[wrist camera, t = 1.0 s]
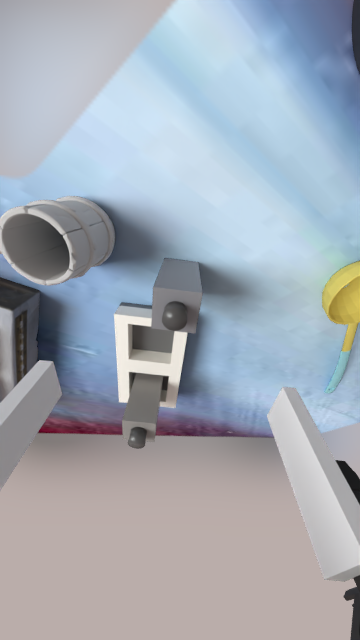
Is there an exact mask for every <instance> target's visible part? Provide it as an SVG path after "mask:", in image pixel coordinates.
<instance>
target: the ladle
mask: <svg viewBox="0 0 360 640" xmlns="http://www.w3.org/2000/svg"><path fill="white" fill-rule="evenodd" d="M348 283H350V284H349V285H348V286H347V287H346V288H343V287H344V286H346V285H347V284H348ZM322 307H323V309H324V311H325V312H326V314H327V316H328V318H329V319H330V320H331V321H333V322H334V323H337V324H344V325H345V324H348V328H347V332H346V336H345V340H344V344H343V348H342V350H341V353H340V357H339V361H338V364H337V367H336V369H335V372H334V374H333V377H332V379H331V381H330V383H329V385H328V386H327V388H326V390H325V391H324V392H325V393H332V392H333V391H334V390H335V388H336V387H337V385H338V383H339V382H340V380H341V378H342V376H343V373H344V371H345V368H346V365H347V362H348V359H349V356H350V352H351V347H352V343H353V340H354V336H355V333H356V329H357V326H358V323H359V322H360V261H358V262H355V263H352V264H350V265H347V266H345V267H344V268H342V269H340V270H339V271H337V272H336V273H335V274H334V275H333V276H332V277H331V278H330V279H329V281H328V282H327V284H326V286H325V288H324V290H323V292H322Z"/></svg>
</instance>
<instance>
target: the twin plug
mask: <svg viewBox="0 0 360 640" xmlns="http://www.w3.org/2000/svg"><path fill="white" fill-rule="evenodd" d="M162 383H163V375H154V374H145V373H136V376H135V379H134V382H133V386H132V389H131V392H130V396H129V399H128V403H127V406H126V409H125V413H124V416H123V419H122V426H123V439H128V445H129V446H131V447H133V448H143V447H144V446H145V441H147V442H154V441H155V434H156V427H157V420H158V413H159V405H160V398H161V391H162Z"/></svg>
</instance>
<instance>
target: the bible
mask: <svg viewBox="0 0 360 640" xmlns="http://www.w3.org/2000/svg"><path fill="white" fill-rule="evenodd" d="M39 299H40V291H39V290H36V289H33V288H30V287H27V286H24V285H21V284H18V283H15V282H12V281H9V280H6V279H3V278H0V403H1V402H2V401H3V399H4V398H5V397H6V396H7V395H8V394H9V393H10V392H11V391H12V390H13V388H14V387H15V386H16V385H17V384H18V383H19V382H20V381H21V380H22V379H23V378H24V376H25V375H26V374H27V373H28V372H29V371H30V370H31V369H32V368H33V367H34V365H35V364H36V362H37V356H38V347H37V344H38V341H36V337H37V332H38V325H39Z"/></svg>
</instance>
